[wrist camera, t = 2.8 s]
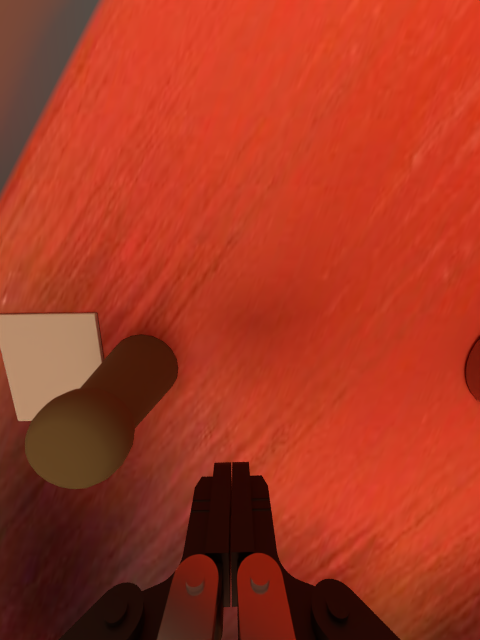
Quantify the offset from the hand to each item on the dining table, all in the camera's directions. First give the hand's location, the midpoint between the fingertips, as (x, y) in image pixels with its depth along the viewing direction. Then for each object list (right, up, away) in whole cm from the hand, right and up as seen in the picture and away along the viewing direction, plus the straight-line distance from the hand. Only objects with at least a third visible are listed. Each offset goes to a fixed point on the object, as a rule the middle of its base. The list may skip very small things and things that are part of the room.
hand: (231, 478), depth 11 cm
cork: (-8, +3, +12) cm, 15 cm away
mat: (-16, +3, +12) cm, 20 cm away
